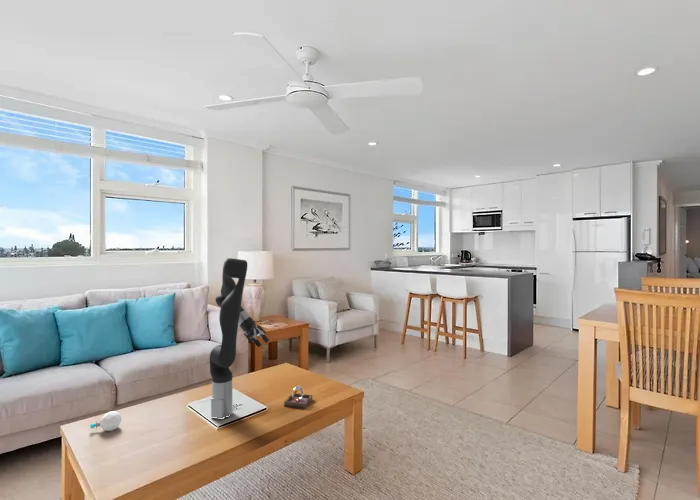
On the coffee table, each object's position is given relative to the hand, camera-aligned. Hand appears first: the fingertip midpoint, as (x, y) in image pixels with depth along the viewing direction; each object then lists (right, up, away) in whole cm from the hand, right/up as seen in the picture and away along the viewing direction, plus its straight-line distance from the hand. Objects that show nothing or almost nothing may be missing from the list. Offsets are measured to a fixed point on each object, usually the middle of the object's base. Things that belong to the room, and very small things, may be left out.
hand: (264, 343), depth 199 cm
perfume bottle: (-62, -30, -35) cm, 77 cm away
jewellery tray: (+19, -29, -6) cm, 35 cm away
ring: (+19, -28, -6) cm, 35 cm away
